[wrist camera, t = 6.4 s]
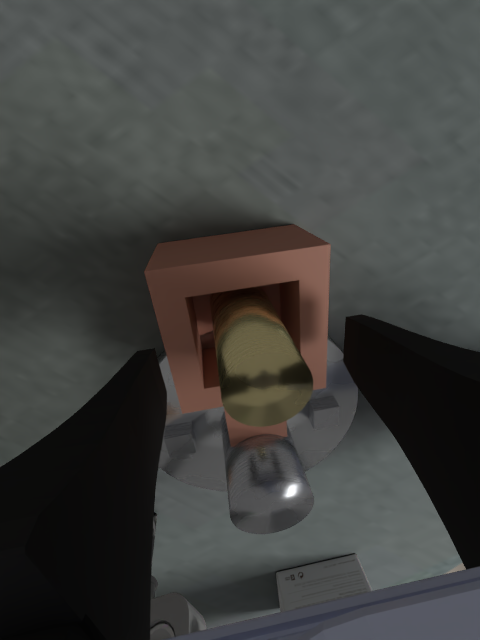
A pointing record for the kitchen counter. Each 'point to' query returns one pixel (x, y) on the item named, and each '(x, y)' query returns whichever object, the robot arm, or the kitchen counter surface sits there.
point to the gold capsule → (257, 359)
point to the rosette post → (259, 451)
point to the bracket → (231, 274)
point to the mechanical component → (171, 612)
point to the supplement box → (321, 582)
